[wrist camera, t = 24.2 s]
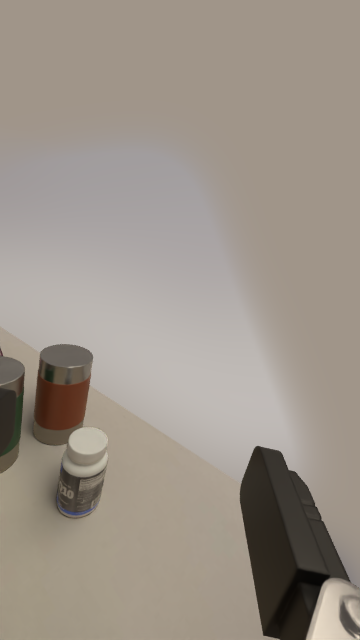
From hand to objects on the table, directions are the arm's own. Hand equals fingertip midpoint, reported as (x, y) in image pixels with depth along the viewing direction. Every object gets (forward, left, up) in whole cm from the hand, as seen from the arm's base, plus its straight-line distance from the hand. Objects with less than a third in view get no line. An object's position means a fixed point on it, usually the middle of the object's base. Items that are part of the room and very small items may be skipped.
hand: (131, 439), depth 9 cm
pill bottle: (+5, -17, -24) cm, 30 cm away
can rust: (+12, -27, -24) cm, 38 cm away
